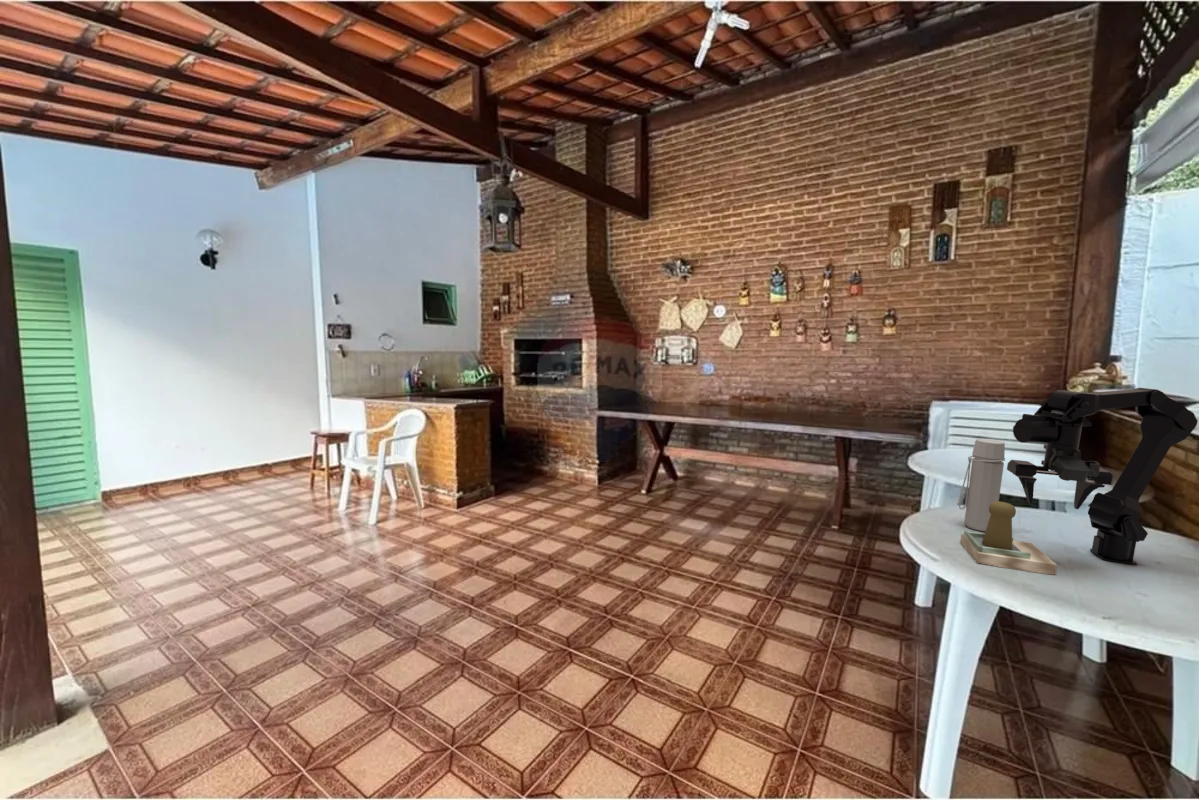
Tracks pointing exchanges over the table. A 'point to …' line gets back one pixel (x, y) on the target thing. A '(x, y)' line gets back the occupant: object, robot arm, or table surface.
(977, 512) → the water bottle
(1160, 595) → the table surface
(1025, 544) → the dock
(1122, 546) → the robot arm
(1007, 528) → the cork
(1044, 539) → the table surface
